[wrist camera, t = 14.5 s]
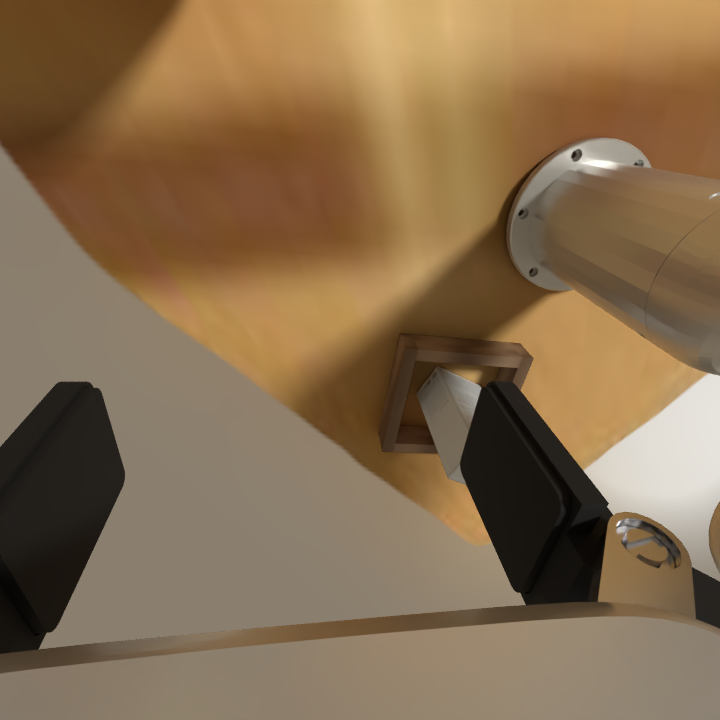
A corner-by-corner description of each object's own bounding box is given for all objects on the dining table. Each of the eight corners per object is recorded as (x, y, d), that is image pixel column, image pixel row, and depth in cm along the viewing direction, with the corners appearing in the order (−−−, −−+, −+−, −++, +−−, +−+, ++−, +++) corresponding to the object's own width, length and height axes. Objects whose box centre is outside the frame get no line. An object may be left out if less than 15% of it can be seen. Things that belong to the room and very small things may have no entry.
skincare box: (414, 394, 44) (445, 478, 34) (437, 364, 42) (476, 444, 32) (458, 413, 46) (499, 498, 36) (481, 385, 44) (532, 466, 34)
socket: (520, 343, 42) (533, 358, 40) (483, 437, 49) (493, 455, 46) (399, 333, 40) (405, 348, 38) (378, 432, 47) (382, 451, 44)
